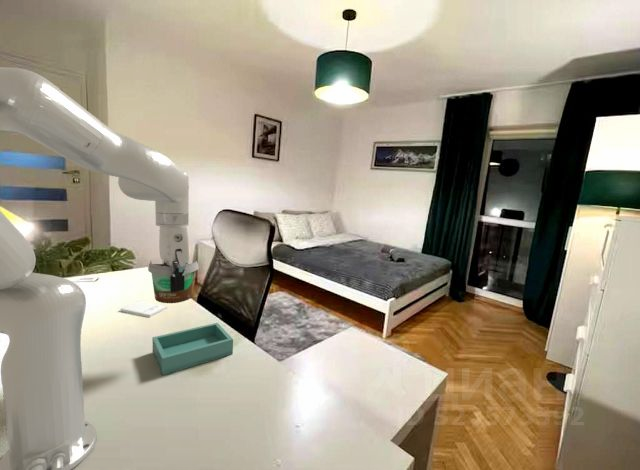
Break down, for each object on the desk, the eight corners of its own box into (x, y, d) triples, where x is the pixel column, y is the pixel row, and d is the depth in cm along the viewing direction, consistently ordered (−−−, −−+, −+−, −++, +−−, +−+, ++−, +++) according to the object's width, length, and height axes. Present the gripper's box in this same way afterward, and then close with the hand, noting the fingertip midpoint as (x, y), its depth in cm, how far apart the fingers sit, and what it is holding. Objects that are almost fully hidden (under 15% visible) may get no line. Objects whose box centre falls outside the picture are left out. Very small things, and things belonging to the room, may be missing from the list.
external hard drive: (139, 304, 114) (167, 310, 111) (120, 312, 106) (150, 319, 103) (139, 300, 114) (167, 305, 111) (120, 308, 106) (149, 314, 103)
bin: (232, 354, 85) (233, 339, 85) (162, 375, 74) (162, 358, 73) (217, 336, 94) (217, 322, 94) (152, 352, 83) (152, 337, 82)
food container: (143, 306, 75) (142, 267, 73) (149, 296, 81) (148, 260, 79) (196, 303, 79) (197, 267, 77) (198, 295, 84) (199, 260, 83)
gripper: (199, 224, 72) (199, 294, 75) (177, 214, 85) (178, 275, 88) (165, 225, 67) (166, 300, 70) (147, 215, 80) (149, 278, 83)
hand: (173, 285), depth 79 cm, fingers closed on food container, 7 cm apart
